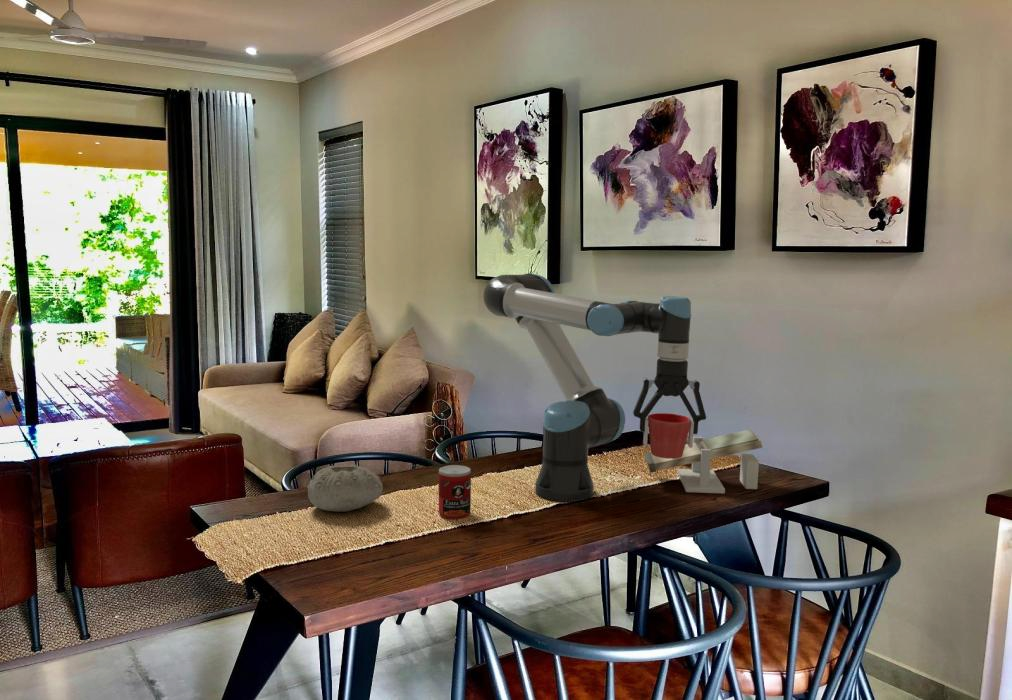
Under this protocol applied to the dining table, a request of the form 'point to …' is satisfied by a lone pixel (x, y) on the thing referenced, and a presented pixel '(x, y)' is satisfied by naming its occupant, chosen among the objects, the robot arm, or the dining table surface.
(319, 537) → the dining table surface
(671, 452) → the flower pot
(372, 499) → the decorative shell
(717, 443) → the beam
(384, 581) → the dining table surface
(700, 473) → the stand
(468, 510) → the canned food
